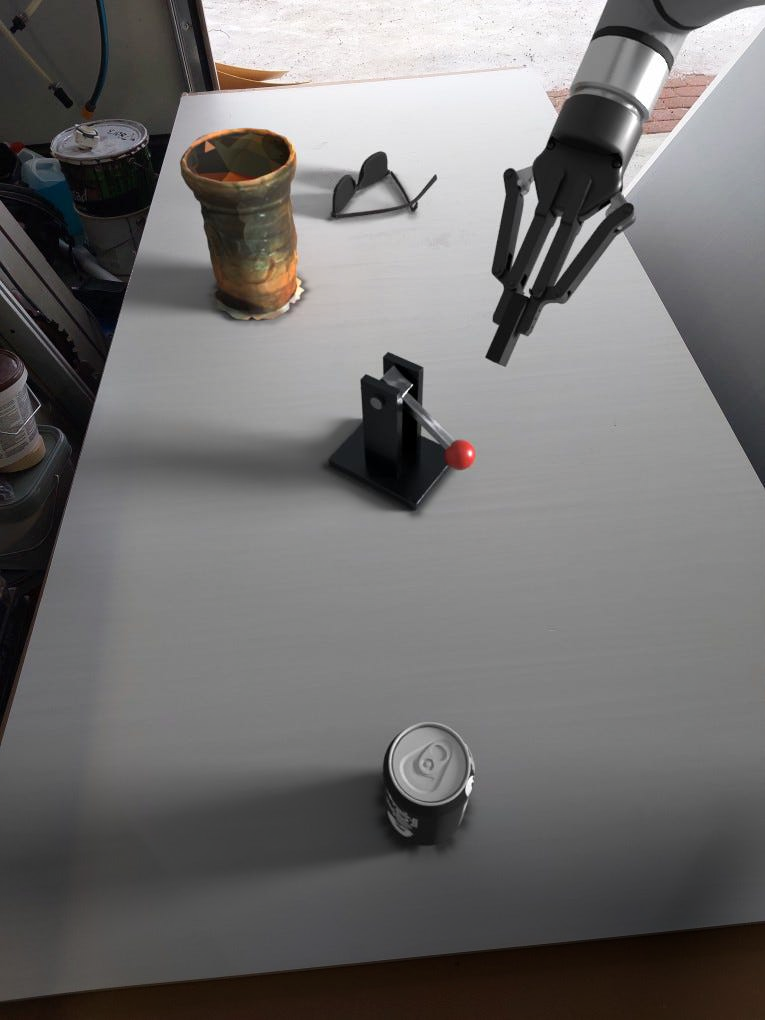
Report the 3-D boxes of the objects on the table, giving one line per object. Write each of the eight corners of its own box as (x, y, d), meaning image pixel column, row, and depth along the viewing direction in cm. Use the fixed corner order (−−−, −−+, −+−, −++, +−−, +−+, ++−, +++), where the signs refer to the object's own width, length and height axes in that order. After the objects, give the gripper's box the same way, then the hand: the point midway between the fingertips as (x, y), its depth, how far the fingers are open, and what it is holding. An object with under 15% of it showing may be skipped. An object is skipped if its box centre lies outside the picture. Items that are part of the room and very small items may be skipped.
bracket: (457, 459, 80) (466, 369, 69) (415, 511, 76) (418, 424, 65) (372, 418, 85) (368, 328, 73) (328, 465, 80) (317, 376, 69)
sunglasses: (400, 243, 107) (400, 213, 103) (325, 217, 112) (322, 187, 108) (453, 194, 115) (455, 164, 111) (381, 172, 120) (380, 142, 116)
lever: (469, 460, 74) (486, 450, 72) (454, 480, 73) (471, 470, 70) (384, 374, 73) (398, 360, 70) (367, 392, 71) (380, 378, 68)
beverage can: (368, 805, 58) (362, 762, 48) (422, 749, 61) (426, 697, 51) (426, 866, 55) (432, 834, 45) (479, 804, 58) (496, 761, 48)
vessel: (332, 284, 101) (319, 144, 85) (266, 335, 94) (239, 194, 78) (260, 251, 106) (235, 114, 90) (192, 298, 100) (153, 158, 84)
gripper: (677, 148, 63) (564, 391, 68) (546, 114, 67) (449, 345, 72) (676, 109, 56) (549, 382, 61) (530, 74, 60) (424, 331, 65)
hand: (495, 362), depth 67 cm, fingers closed
